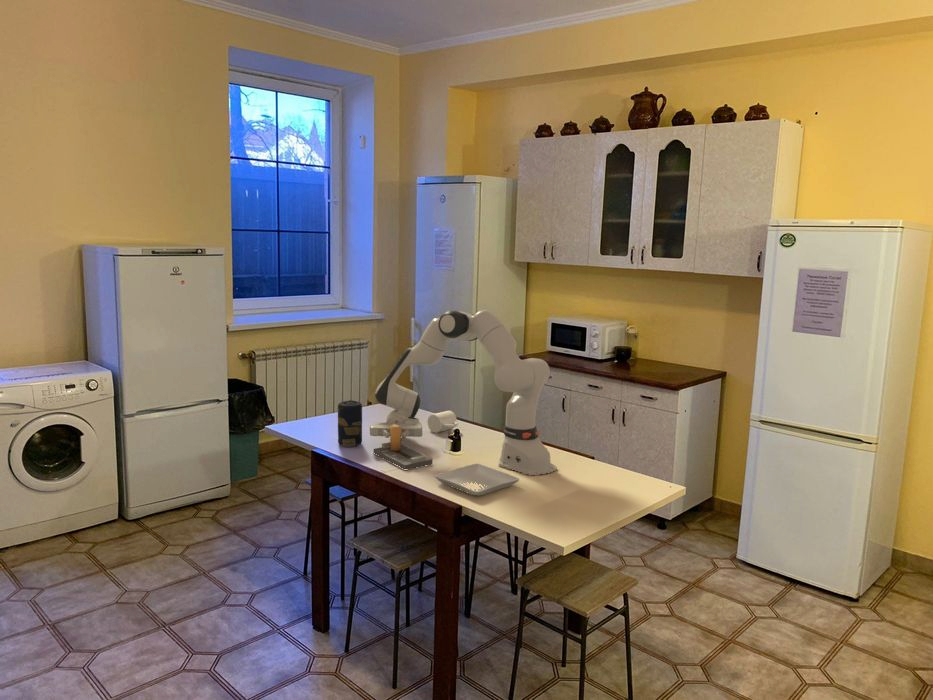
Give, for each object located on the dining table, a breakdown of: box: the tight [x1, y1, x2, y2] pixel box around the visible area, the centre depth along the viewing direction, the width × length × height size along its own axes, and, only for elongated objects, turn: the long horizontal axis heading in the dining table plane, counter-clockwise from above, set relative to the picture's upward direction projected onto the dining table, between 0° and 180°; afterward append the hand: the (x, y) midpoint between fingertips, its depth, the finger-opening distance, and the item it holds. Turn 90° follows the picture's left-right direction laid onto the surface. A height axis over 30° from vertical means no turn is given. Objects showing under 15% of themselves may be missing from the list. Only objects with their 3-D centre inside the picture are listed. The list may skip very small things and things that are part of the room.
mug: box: [427, 410, 459, 434], centre depth 303 cm, size 12×10×8 cm
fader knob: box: [389, 424, 402, 451], centre depth 269 cm, size 4×4×9 cm
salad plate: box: [434, 463, 520, 496], centre depth 242 cm, size 21×21×3 cm
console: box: [373, 441, 433, 470], centre depth 266 cm, size 22×12×4 cm, turn 38°
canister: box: [337, 399, 363, 447], centre depth 280 cm, size 10×10×18 cm
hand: (395, 435), depth 268 cm, fingers open, 5 cm apart
